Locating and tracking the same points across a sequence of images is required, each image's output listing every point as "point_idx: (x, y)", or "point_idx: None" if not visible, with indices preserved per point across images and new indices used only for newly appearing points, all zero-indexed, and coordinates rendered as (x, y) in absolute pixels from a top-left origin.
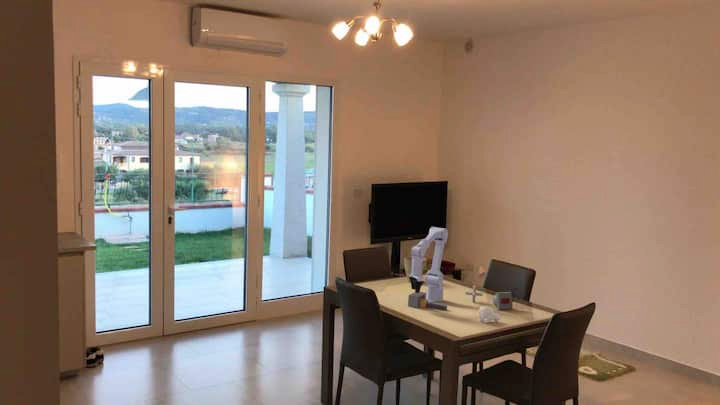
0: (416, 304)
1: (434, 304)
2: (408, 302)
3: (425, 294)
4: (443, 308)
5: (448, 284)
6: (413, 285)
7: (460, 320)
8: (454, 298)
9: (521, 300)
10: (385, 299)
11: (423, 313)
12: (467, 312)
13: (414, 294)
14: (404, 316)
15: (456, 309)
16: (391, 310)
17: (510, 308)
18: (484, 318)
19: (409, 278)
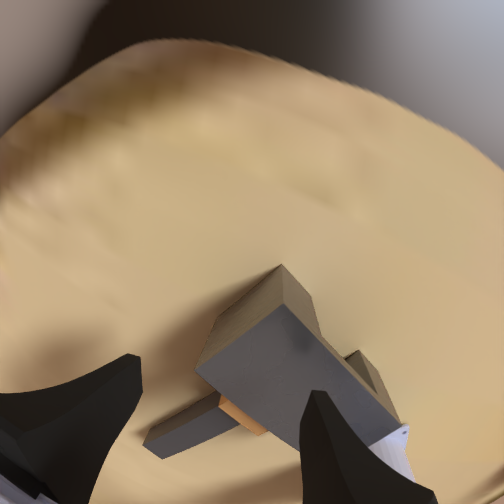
0: (221, 323)
1: (186, 425)
2: (280, 276)
3: None
4: (153, 433)
5: (489, 493)
6: (314, 441)
7: (24, 384)
8: None
9: None
10: (487, 170)
11: (87, 289)
12: (135, 473)
13: (296, 375)
14: (44, 135)
15: (179, 472)
16: (175, 74)
17: None
18: None
19: (415, 488)
